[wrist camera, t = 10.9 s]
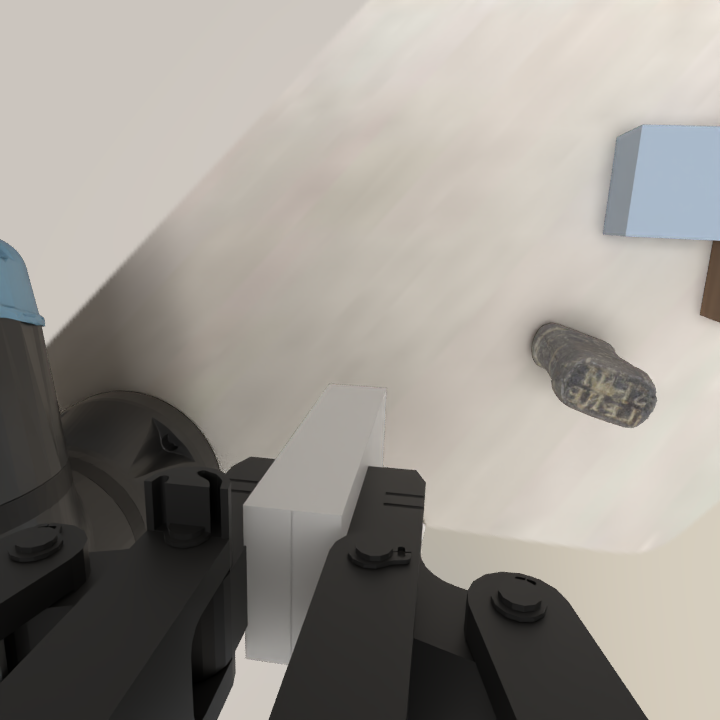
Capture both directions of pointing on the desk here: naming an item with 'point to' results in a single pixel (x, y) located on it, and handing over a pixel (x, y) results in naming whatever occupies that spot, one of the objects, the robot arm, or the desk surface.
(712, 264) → the board
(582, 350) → the stone
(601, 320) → the desk surface
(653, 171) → the block
